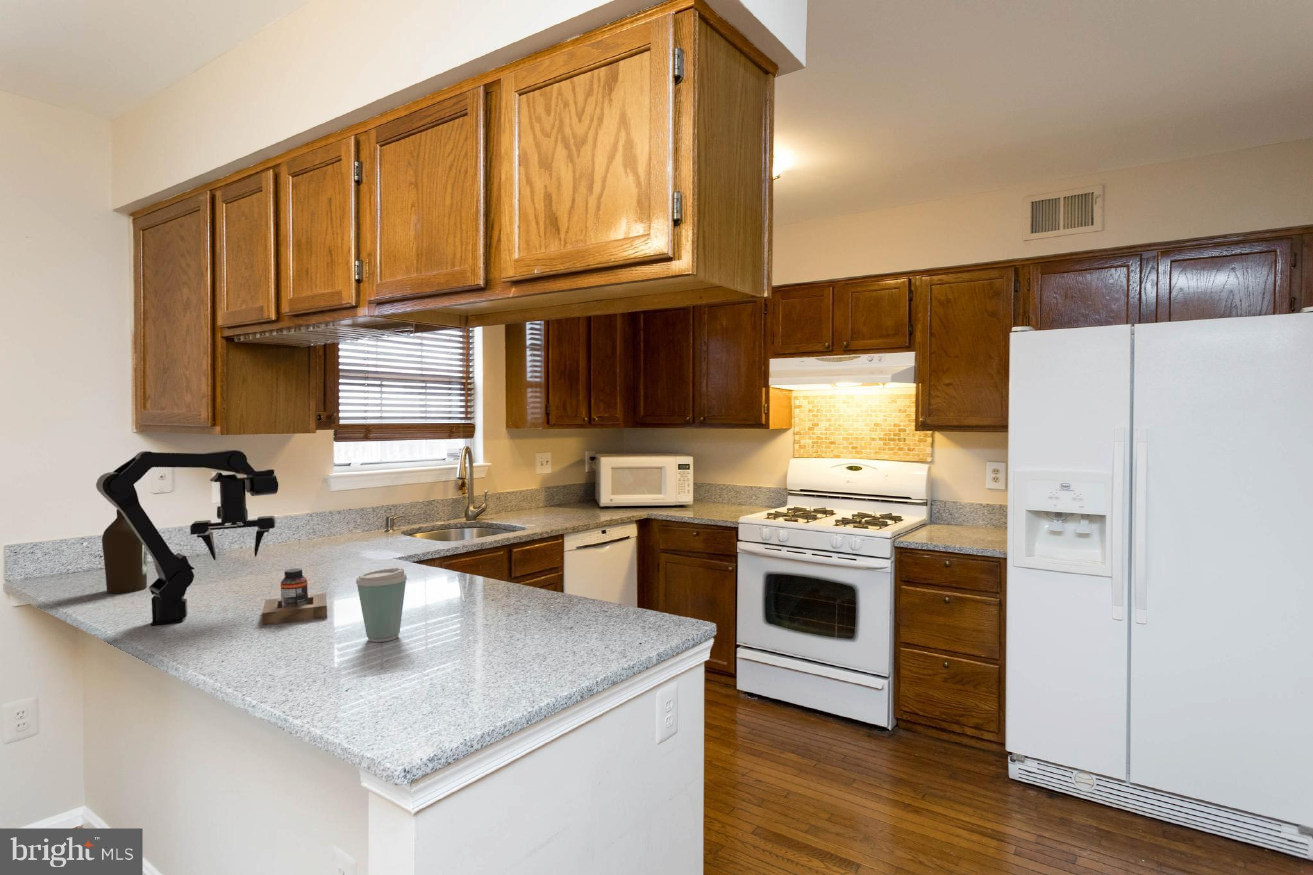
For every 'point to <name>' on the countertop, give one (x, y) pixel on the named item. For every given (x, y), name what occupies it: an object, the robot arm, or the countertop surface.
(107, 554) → the olive oil
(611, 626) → the countertop surface
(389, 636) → the disposable coffee cup
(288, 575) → the supplement bottle
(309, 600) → the bottle holder
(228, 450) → the robot arm
